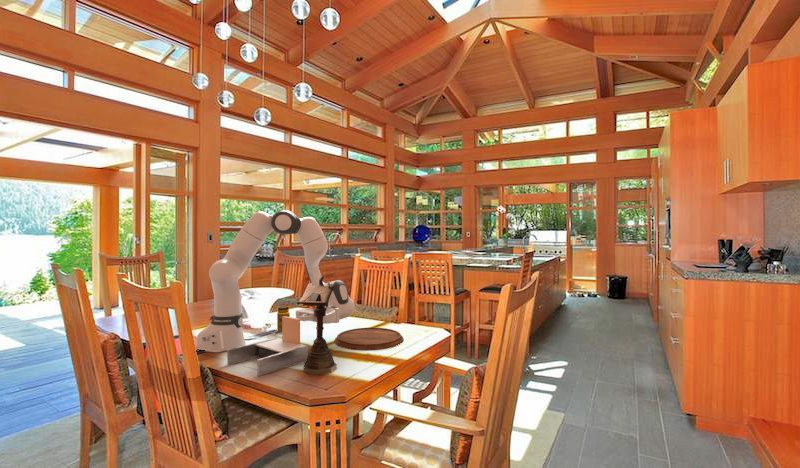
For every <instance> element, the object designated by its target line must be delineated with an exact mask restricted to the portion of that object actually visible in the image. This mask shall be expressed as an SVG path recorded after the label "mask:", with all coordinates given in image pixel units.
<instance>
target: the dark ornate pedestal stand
mask: <svg viewBox="0 0 800 468" xmlns="http://www.w3.org/2000/svg"><path fill="white" fill-rule="evenodd" d="M324 278H325V275H324V274H323V275H322V274H321V276H320V277H319V284H318V285H317V286H314V285H313V283H310V282H309V283H308V284H307V286H306V288H305V290H304V293H303V295H302V296H301V298H300V300H298V301H296V305H295V308H297V306H299V305H302V306H303V307H305V306H307V307H308V306H309V307H313V308H312V309H313V311H314V316H315V317H316V318H317V322H316V327H315V329H316V338H315V339H314V340H313V344H312V346H311V349H310V350H308V356H307V360H306V361H304V364H303V370H304V371H305V373H306V374H310V375H325V374H329V373H332V372H334V371H335V370H337V368H338V363H337V362H335V360H334V358H333V355H332V354H333V353H332V352H331V349H330V348H329V346H328V344H327V339H325V338H324V336H323V335H324V334H323V333H324V329H325V328H324V324H323V317H324V316H325V315H326V310H327V308H325V306H326V307H328V302H329V298H330V296H331V293H332V291H333V289H334V287H335V284H333V283H330V282H331V281H330V280H328V281H327V283H328V284H327V285H328V286H324V284H323V282H324V281H323V280H324Z"/></svg>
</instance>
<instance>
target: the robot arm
mask: <svg viewBox="0 0 800 468" xmlns="http://www.w3.org/2000/svg"><path fill="white" fill-rule="evenodd" d="M273 232H275V233H278V234H279V235H285V236H286V235H294V234H295V235H296V236H297V238H298V239H299V241H300V244H301V246H302V249H303V252H304V253H303V254H304V257H303V262H304V263H303V264H304V267H305V270H306V274H307V278H308V281H309V283H313V285H314V286H317V285H318V284H319V277H320V276H322V273H321V270H320V266H319V264H320V261H321V260H322V259H323V258H324V257H325V256H326V254H327V252H328V250H329V245H328V241H327V239H326V236H325V234H324V232H323V230H322V228H321V226H320V224H319V223H318V222H317V220H316V218H314V217H313V216H304V217H301V218H299V217H298V216H297V215H296V213H295V212H294V211H292V210H290V209H281V210H278V211H277V212H275V213H273V214H269V213H267V212H265V211H256V212H255V213H254V214H252V215H251V216H250V217H249V219H247V221H246V222H245V223H244V224H243V226H242V227H241V228H240V230H239V232H238V233H237V234H236V235H235V237H234V239H233V240H232V241H231V244H230V245H229V248H228V251H227V252H226V253H225V255H224V256H223V258H222V259H218V260H216V261H215V262H214V263H212V265H211V266H210V268H209V269H208V270H209V271H208V276H209V279H210V281H211V287H212V292H213V301H214V305H213V307H214V309H213V311H214V314H213V315H211V317H209V318H208V321H210V324H209V325H207V326H206V327H205V328H203V329H202V330H201V331H199V332H198V334H197V335H196V336H197V337H196V340H195V342H194V344H196V350H195V351H198V350H197V349H201V350H205V351H204V352H209V353H221V352H225V351H226V352H227V350H229V349H233V348H237V347H240V346H244V345H247V343H246V340H245V336H244V333H243V332H244V331H243V330H244V329H243V325H244V317H243V314H244V313H243V312H242V311H243V310H242V307H243V305H242V302H243V301H242V293H241V290H240V285H239V280H240V279H241V278H242V277H243V275H244V274H245V272H246V270H247V269H248V267H249V266H250V264H251V262H252V261H253V258H254V257H255V255H256V254H257V252H258V251H259V249H260V248H261V246H262V245H263V243H264V242H265V241H266V239H267V237H268V236H269V235H270V234H271V233H273ZM329 282H330V283H333V284H335V287H334V289H333V291H332V293H331V296H330V298H329V302H328V307H326V306H325V308H327V310H326V315H325V316H324V317H323V325H324V324H338V323H340V320H344V319H347V318H348V317H350V316H351V315H353V314H354V312H355V308H356V305H355V302H354V300H353V299H351V297H350V295H349V290H348V287H347V285H346V283H345V282H344V281H343V280H340V279H337V280H333V281H332V280H331V281H329ZM323 284H324V286H328V285H327V284H328V282H326V283H325V282H324V281H323ZM295 318H297V319H300V322H314V323H317V318H316V317H315V316H314V311H313V308H310V307H309V308H307V307H306V308H300V309H296V311H295Z"/></svg>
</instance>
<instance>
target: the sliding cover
mask: <svg viewBox="0 0 800 468" xmlns="http://www.w3.org/2000/svg"><path fill="white" fill-rule="evenodd" d="M281 334H282V335H281V337H282V338H278V337H277V339H274V340H270V341H267V342H263V343H259V344H256V346H258V347H262V348H265V349H269V350H272V351H276V352H279V353H282V352H285V351H288V350H292V349H295V348H298V347H302V346H305V345H306V344H302V343H301V321H300V319H297V318H296V317H292V316H291V317H287V316H283V317H282V332H281Z"/></svg>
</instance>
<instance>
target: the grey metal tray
mask: <svg viewBox="0 0 800 468" xmlns="http://www.w3.org/2000/svg"><path fill="white" fill-rule="evenodd" d="M274 339H278V337H272V338H268V339H264V340H260V341H257V342H252V343H248V344H246V345H244V346H240V347H237V348H233V349H229V350H226V352H227V354H226V357H227V361H226V364H227V365H228V366H230V365H233V364H237V363H241V362H244V361H247V360H250V359H254V358H257V357H258V358H259V359H257V362H256V363H257V367H256V368H257V370H256V371H257V372H256V373H257V376H258V377H261V376H264V375H266V374H269V373H272V372H275V371H276V372H277V371H279V370H281V369H284V368H287V367H291V366H293V365H296V364H299V363H302V362H306V360H307V356H308V353H309V346H308V345H307V344H304V345H305V346H302V347H298V348H295V349H292V350H288V351H285V352H282V353H279V352H276V351H272V350H269V349H265V348H262V347H258V346H256V344H259V343H263V342H267V341H270V340H274Z"/></svg>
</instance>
